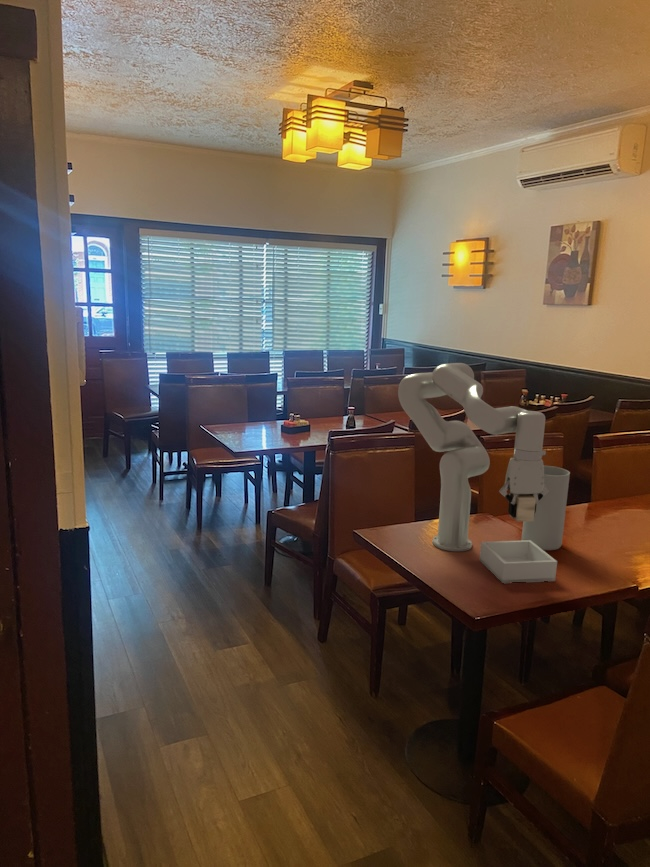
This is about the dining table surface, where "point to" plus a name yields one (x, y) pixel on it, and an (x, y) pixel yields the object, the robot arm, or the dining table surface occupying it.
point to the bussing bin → (518, 561)
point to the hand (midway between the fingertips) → (521, 515)
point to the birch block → (525, 508)
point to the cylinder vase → (549, 511)
